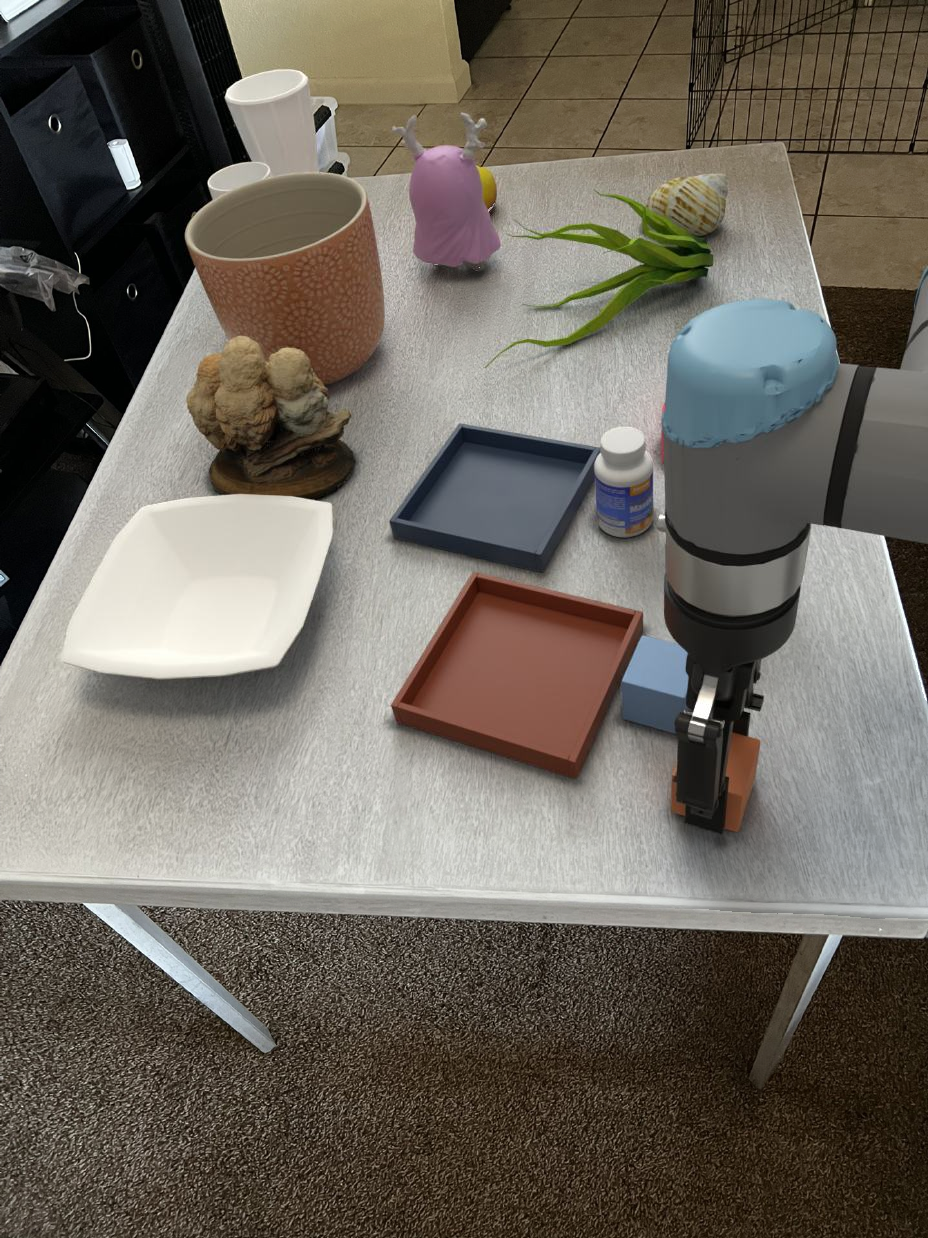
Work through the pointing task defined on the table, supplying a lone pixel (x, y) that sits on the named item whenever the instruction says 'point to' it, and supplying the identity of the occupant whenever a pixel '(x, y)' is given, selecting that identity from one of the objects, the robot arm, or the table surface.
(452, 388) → the table surface
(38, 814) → the table surface
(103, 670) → the bowl
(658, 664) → the blue block
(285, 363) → the owl figurine
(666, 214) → the seashell
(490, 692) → the clay tray
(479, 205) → the toy character
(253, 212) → the planter
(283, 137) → the cup
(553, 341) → the decorative plant
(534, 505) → the slate tray
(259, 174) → the cup
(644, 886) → the table surface
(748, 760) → the terracotta block
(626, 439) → the pill bottle
